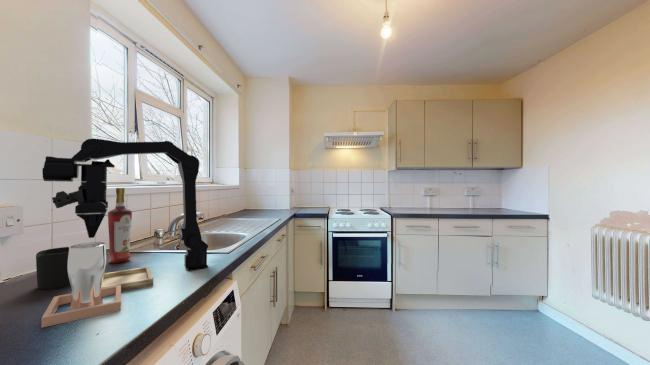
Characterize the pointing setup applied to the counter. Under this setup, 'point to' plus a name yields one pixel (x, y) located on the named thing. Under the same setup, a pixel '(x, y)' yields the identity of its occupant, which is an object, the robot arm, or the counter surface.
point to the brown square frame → (67, 316)
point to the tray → (129, 278)
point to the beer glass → (86, 273)
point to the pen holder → (52, 268)
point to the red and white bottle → (119, 229)
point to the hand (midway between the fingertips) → (92, 235)
